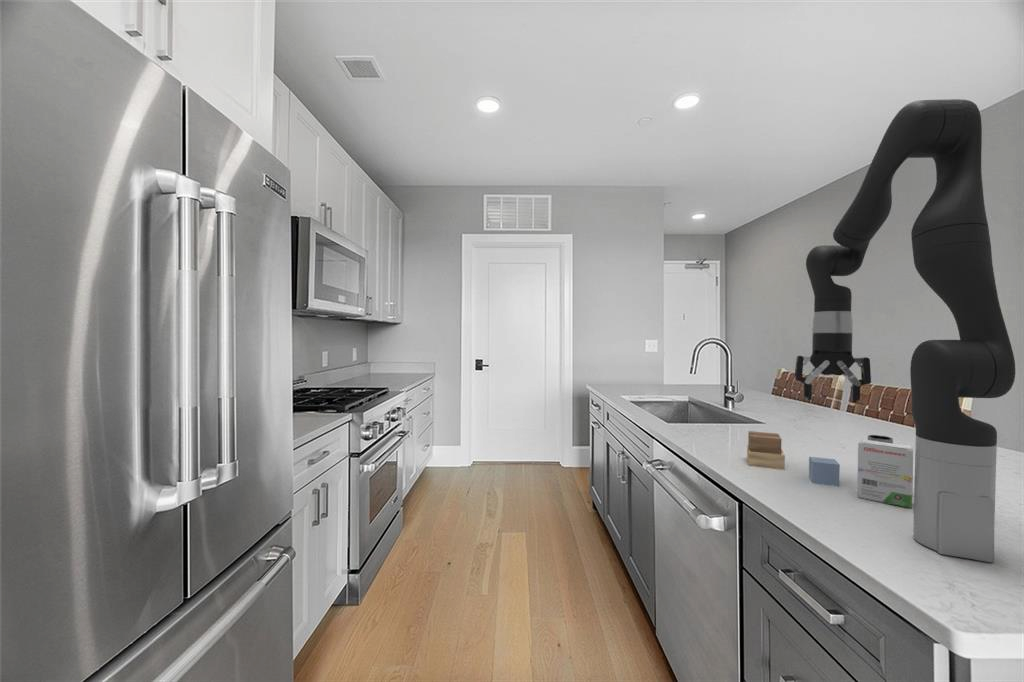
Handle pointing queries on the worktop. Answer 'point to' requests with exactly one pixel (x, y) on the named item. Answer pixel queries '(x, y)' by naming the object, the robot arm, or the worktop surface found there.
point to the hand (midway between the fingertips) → (830, 401)
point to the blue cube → (824, 471)
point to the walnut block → (764, 442)
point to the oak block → (766, 459)
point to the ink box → (885, 472)
